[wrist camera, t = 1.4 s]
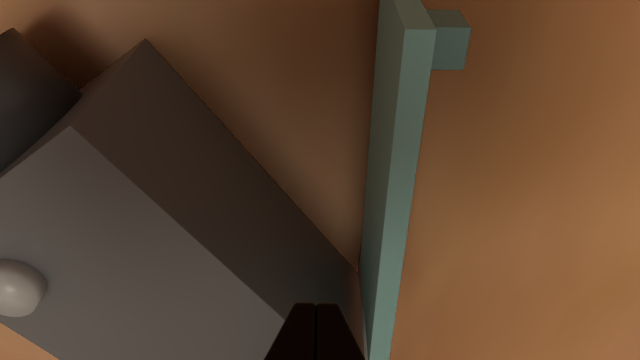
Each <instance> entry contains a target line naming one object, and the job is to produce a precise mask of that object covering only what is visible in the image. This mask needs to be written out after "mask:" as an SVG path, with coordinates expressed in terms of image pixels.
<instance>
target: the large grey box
mask: <svg viewBox="0 0 640 360" xmlns="http://www.w3.org/2000/svg"><path fill="white" fill-rule="evenodd" d="M297 302H312V303H315V305H316V308H317V304H318V303H337V304H338V305H339V306H340V308H341V310H342V312H343V314H344V316H345V318H346V320H347V322H348V324H349V326H350V328H351V330H352V333H353V335H354V337H355V339H356V341H357V343H358V345H359V347H360V349H361V351H362V353H363V355H364V342H363V328H362V314H361V300H360V286H359V274H358V273H357V272H356V271H355V270H354V269H353V268H352V267H351V266H350V265H349V263H348V262H347V261H346V260H345V259H344V258H343V257H342V256H341V255H340V253H339V252H338V251H337V250H336V249H335V248H334V247H333V246H332V245H331V243H330V242H329V241H328V240H327V239H326V238H325V237H324V236H323V235H322V234H321V232H320V231H319V230H318V229H317V228H316V227H315V226H314V225H313V224H312V222H311V221H310V220H309V219H308V218H307V217H306V216H305V215H304V214H303V213H302V211H301V210H300V209H299V208H298V207H297V206H296V205H295V204H294V203H293V201H292V200H291V199H290V198H289V197H288V196H287V195H286V194H285V193H284V191H283V190H282V189H281V188H280V187H279V186H278V185H277V184H276V183H275V182H274V180H273V179H272V178H271V177H270V176H269V175H268V174H267V173H266V172H265V170H264V169H263V168H262V167H261V166H260V165H259V164H258V163H257V162H256V161H255V159H254V158H253V157H252V156H251V155H250V154H249V153H248V152H247V151H246V149H245V148H244V147H243V146H242V145H241V144H240V143H239V142H238V141H237V139H236V138H235V137H234V136H233V135H232V134H231V133H230V132H229V131H228V130H227V128H226V127H225V126H224V125H223V124H222V123H221V122H220V121H219V120H218V118H217V117H216V116H215V115H214V114H213V113H212V112H211V111H210V110H209V109H208V107H207V106H206V105H205V104H204V103H203V102H202V101H201V100H200V99H199V97H198V96H197V95H196V94H195V93H194V92H193V91H192V90H191V89H190V87H189V86H188V85H187V84H186V83H185V82H184V81H183V80H182V79H181V78H180V76H179V75H178V74H177V73H176V72H175V71H174V70H173V69H172V68H171V66H170V65H169V64H168V63H167V62H166V61H165V60H164V59H163V58H162V57H161V55H160V54H159V53H158V52H157V51H156V50H155V49H154V48H153V47H152V45H151V44H150V43H149V42H148V41H147V40H146V39H144V40H143V41H141V42H140V43H139V44H138V45H136V46H135V47H134V48H132V49H131V50H130V51H129V52H127V53H126V54H125V55H124V56H122V57H121V58H120V59H118V60H117V61H116V62H115V63H113V64H112V65H111V66H109V67H108V68H107V69H106V70H104V71H103V72H102V73H101V74H99V75H98V76H97V77H95V78H94V79H93V80H92V81H90V82H89V83H88V84H86V85H85V86H84V87H83V88H81V89H80V90H78V89H77V88H76V87H75V86H74V85H73V84H72V83H71V82H70V81H69V80H68V79H67V78H66V77H65V76H64V75H63V74H62V73H60V72H59V71H58V70H57V69H56V68H55V67H54V66H53V65H52V64H51V63H50V62H49V61H48V60H47V59H46V58H45V57H44V56H43V55H42V54H41V53H40V52H39V51H37V50H36V49H35V48H34V47H33V46H32V45H31V44H30V43H29V42H28V41H27V40H26V39H25V38H24V37H23V36H22V35H21V34H20V33H19V32H18V31H17V30H16V29H15V28H11V29H9V30H7V31H6V32H4V33H2V34H1V35H0V323H2V324H4V325H5V326H7V327H8V328H10V329H12V330H13V331H15V332H16V333H18V334H20V335H21V336H23V337H24V338H26V339H28V340H29V341H31V342H32V343H34V344H36V345H37V346H39V347H41V348H42V349H44V350H45V351H47V352H49V353H50V354H52V355H53V356H55V357H57V358H58V359H60V360H264V358H265V356H266V355H267V353H268V351H269V349H270V347H271V345H272V343H273V342H274V340H275V338H276V336H277V334H278V332H279V331H280V329H281V327H282V325H283V323H284V321H285V320H286V318H287V316H288V314H289V312H290V310H291V309H292V307H293V305H294V304H295V303H297ZM364 357H365V356H364Z"/></svg>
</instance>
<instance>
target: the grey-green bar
mask: <svg viewBox="0 0 640 360" xmlns="http://www.w3.org/2000/svg"><path fill="white" fill-rule="evenodd" d="M470 33H471V27H470V25H469V24H468V22H467V21H466V20H465V18H464V17H463V15H462V14H461V13H460V11H459V10H426V9H425V7H424V6H423V4H422V2H421V0H380V4H379V17H378V30H377V43H376V57H375V70H374V83H373V97H372V110H371V123H370V136H369V150H368V163H367V176H366V189H365V203H364V216H363V229H362V242H361V256H360V261H359V262H358V272H359V286H360V300H361V314H362V328H363V342H364V356H365V359H366V360H389V356H390V349H391V342H392V335H393V329H394V322H395V315H396V308H397V301H398V294H399V287H400V280H401V273H402V266H403V259H404V252H405V246H406V239H407V232H408V225H409V218H410V211H411V204H412V197H413V190H414V183H415V176H416V170H417V163H418V156H419V149H420V142H421V135H422V128H423V121H424V114H425V107H426V100H427V93H428V87H429V80H430V73H431V70H464V65H465V60H466V54H467V49H468V43H469V38H470Z"/></svg>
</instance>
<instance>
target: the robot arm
mask: <svg viewBox="0 0 640 360" xmlns="http://www.w3.org/2000/svg"><path fill="white" fill-rule="evenodd" d="M264 360H366V359H365V357H364V355H363V353H362V351H361V349H360V347H359V345H358V343H357V341H356V339H355V337H354V335H353V333H352V330H351V328H350V326H349V324H348V322H347V320H346V318H345V316H344V314H343V312H342V310H341V308H340V306H339V305H338V304H337V303H318V304H317V308H316V305H315V303H312V302H297V303H295V304H294V305H293V307H292V309H291V310H290V312H289V314H288V316H287V318H286V320H285V321H284V323H283V325H282V327H281V329H280V331H279V332H278V334H277V336H276V338H275V340H274V342H273V343H272V345H271V347H270V349H269V351H268V353H267V355H266V356H265V358H264Z"/></svg>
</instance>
